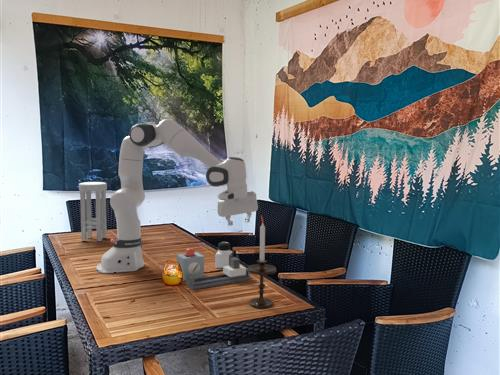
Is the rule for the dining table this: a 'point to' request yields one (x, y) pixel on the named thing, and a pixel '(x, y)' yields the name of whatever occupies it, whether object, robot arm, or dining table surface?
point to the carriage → (234, 268)
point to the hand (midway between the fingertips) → (239, 223)
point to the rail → (214, 280)
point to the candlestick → (261, 273)
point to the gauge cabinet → (191, 265)
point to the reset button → (190, 252)
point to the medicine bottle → (223, 255)
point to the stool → (100, 212)
